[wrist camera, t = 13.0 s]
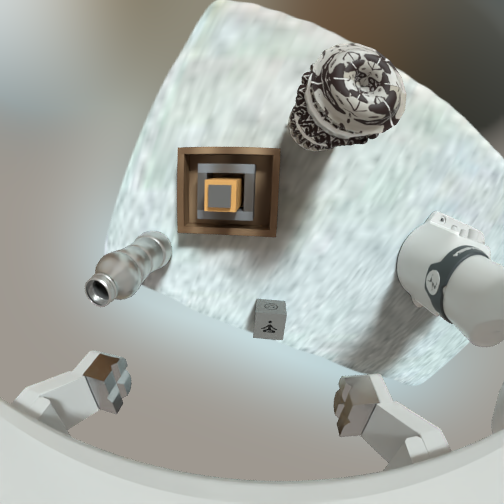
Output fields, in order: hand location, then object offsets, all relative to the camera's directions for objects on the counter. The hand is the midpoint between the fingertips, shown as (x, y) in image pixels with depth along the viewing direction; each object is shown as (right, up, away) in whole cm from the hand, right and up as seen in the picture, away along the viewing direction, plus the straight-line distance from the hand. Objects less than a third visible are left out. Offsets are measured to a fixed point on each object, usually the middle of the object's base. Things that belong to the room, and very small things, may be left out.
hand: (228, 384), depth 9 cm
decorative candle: (+11, +25, +31) cm, 41 cm away
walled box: (-3, +15, +35) cm, 38 cm away
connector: (-3, +14, +34) cm, 37 cm away
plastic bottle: (-16, +6, +38) cm, 42 cm away
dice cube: (+4, -6, +41) cm, 41 cm away
